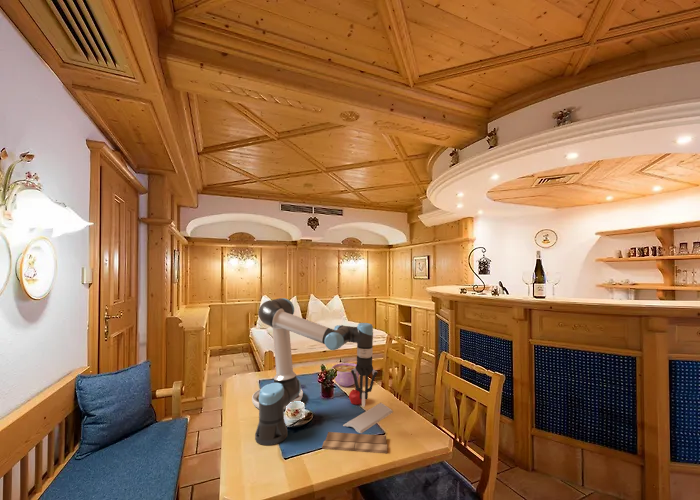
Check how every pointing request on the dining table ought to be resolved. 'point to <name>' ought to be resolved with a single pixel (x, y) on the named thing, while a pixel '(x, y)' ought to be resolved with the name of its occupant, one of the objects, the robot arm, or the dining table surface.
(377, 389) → the dining table surface
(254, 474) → the dining table surface
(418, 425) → the dining table surface
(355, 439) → the plank
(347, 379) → the bowl of food
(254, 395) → the bowl
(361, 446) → the laid row
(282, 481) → the dining table surface
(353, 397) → the pomegranate
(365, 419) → the crown molding
